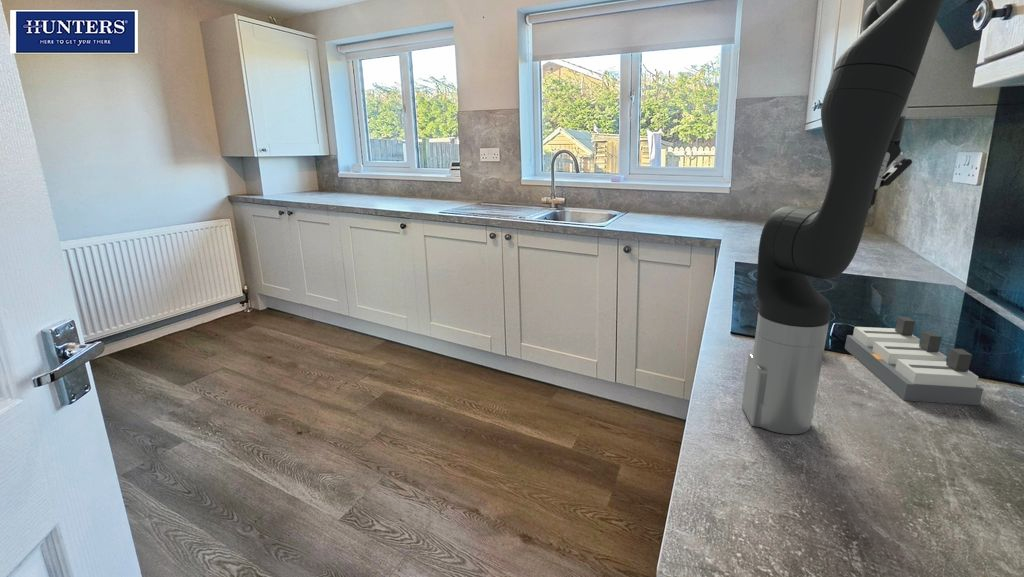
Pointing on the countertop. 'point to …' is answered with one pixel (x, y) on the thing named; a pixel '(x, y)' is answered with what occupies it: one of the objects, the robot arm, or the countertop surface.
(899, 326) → the block
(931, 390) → the box
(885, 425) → the countertop surface
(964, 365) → the block
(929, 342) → the block
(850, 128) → the robot arm
